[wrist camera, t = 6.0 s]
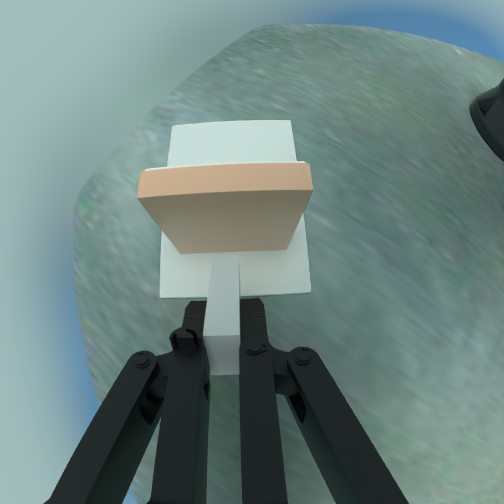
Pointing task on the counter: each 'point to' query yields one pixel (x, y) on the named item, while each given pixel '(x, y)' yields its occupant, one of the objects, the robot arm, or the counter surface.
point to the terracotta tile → (227, 204)
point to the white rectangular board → (250, 262)
